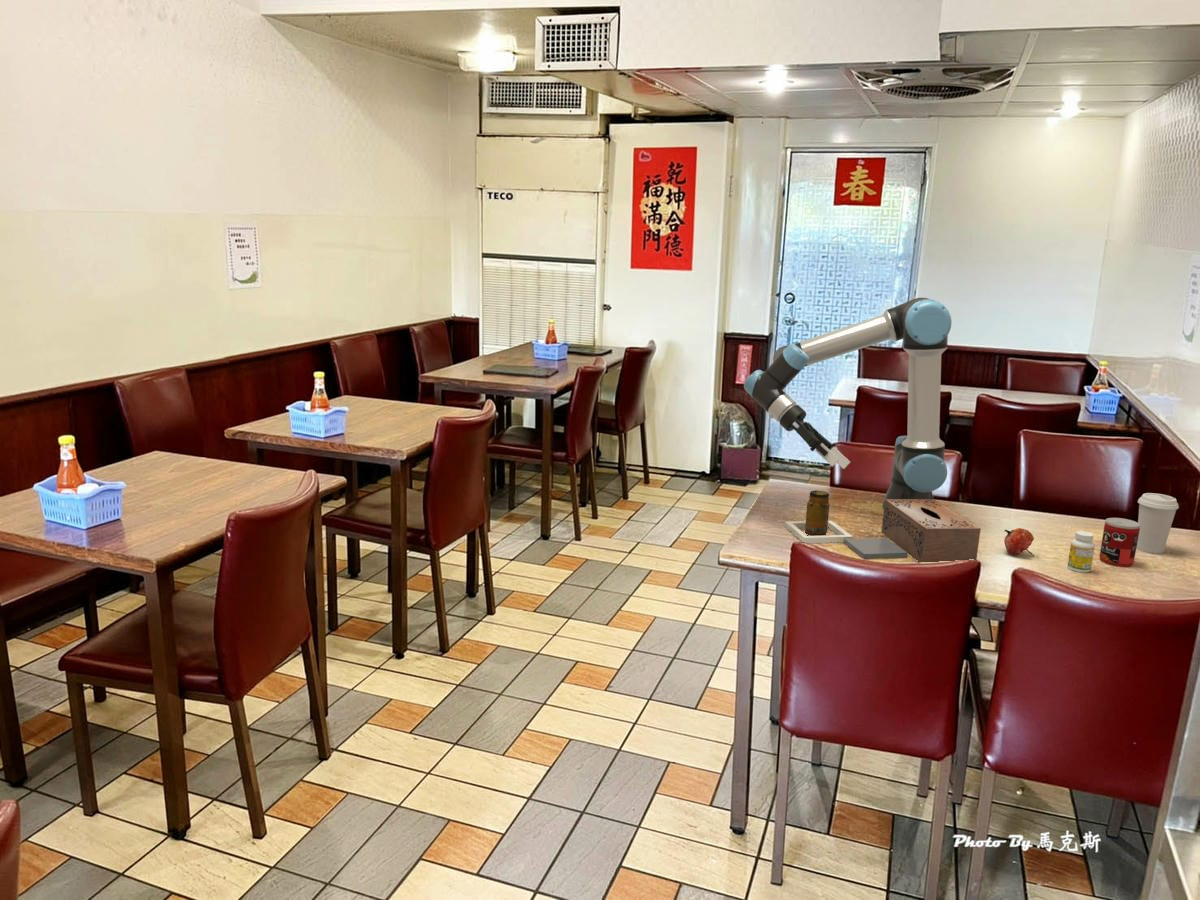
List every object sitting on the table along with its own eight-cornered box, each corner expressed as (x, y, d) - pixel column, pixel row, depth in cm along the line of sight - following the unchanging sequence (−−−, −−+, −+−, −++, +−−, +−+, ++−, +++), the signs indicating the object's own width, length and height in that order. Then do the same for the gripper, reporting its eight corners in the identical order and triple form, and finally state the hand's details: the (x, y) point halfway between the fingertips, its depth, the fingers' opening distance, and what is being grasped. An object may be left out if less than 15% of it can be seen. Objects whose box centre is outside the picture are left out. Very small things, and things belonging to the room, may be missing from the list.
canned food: (1092, 556, 240) (1099, 517, 238) (1120, 556, 241) (1127, 517, 238) (1110, 567, 233) (1117, 526, 230) (1139, 567, 234) (1147, 526, 231)
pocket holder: (831, 525, 259) (831, 520, 259) (852, 542, 246) (853, 536, 245) (784, 527, 257) (785, 521, 256) (803, 543, 243) (804, 537, 243)
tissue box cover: (881, 533, 255) (884, 499, 253) (930, 533, 257) (934, 499, 254) (921, 565, 230) (926, 528, 228) (975, 565, 232) (980, 528, 229)
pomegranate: (1025, 558, 244) (997, 532, 246) (1047, 542, 240) (1017, 515, 242) (1022, 569, 238) (992, 542, 240) (1043, 553, 234) (1013, 525, 236)
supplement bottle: (1089, 574, 227) (1095, 538, 225) (1066, 570, 230) (1071, 534, 228) (1091, 568, 232) (1097, 532, 229) (1068, 563, 234) (1073, 528, 232)
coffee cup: (1170, 558, 241) (1180, 504, 238) (1128, 550, 246) (1138, 497, 243) (1170, 548, 249) (1180, 496, 246) (1130, 541, 254) (1139, 490, 251)
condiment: (813, 528, 257) (817, 487, 254) (838, 536, 250) (842, 494, 248) (797, 533, 252) (800, 491, 249) (822, 541, 246) (826, 499, 243)
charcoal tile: (884, 542, 246) (885, 537, 246) (906, 557, 235) (907, 552, 235) (843, 543, 244) (844, 538, 244) (863, 559, 233) (864, 554, 232)
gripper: (790, 426, 271) (842, 475, 263) (765, 418, 249) (821, 472, 241) (808, 408, 269) (860, 457, 261) (784, 398, 247) (840, 451, 239)
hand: (841, 464), depth 251 cm, fingers open, 13 cm apart
